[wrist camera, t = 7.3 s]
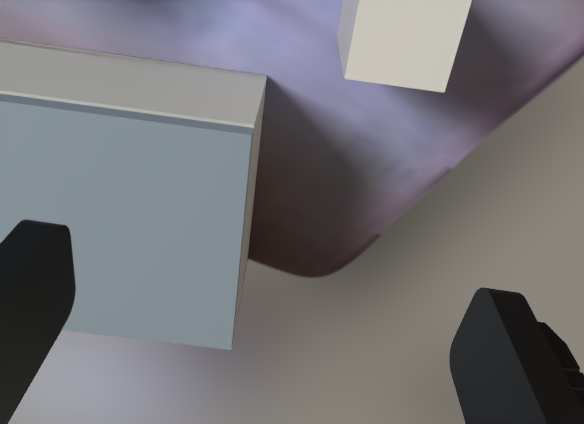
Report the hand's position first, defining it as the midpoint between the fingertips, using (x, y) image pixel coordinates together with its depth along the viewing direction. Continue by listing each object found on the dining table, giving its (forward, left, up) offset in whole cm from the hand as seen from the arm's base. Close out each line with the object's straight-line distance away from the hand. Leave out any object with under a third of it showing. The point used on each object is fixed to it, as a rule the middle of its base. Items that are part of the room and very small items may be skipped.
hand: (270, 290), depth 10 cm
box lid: (+9, -9, -14) cm, 20 cm away
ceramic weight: (-3, +5, -22) cm, 23 cm away
